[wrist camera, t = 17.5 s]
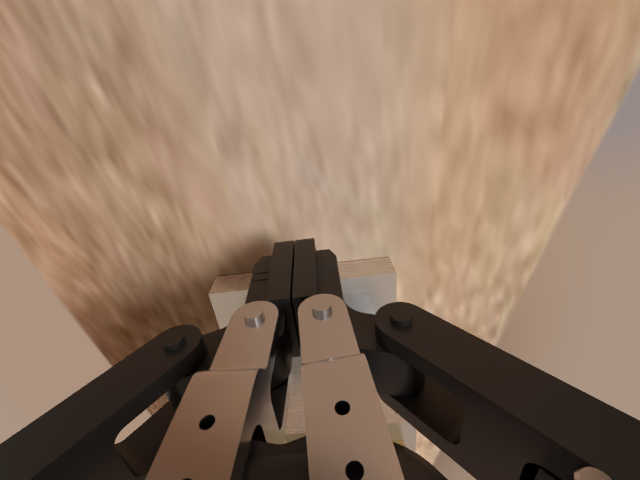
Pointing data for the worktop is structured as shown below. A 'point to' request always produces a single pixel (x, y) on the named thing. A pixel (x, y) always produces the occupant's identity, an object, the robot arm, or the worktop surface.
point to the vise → (355, 276)
